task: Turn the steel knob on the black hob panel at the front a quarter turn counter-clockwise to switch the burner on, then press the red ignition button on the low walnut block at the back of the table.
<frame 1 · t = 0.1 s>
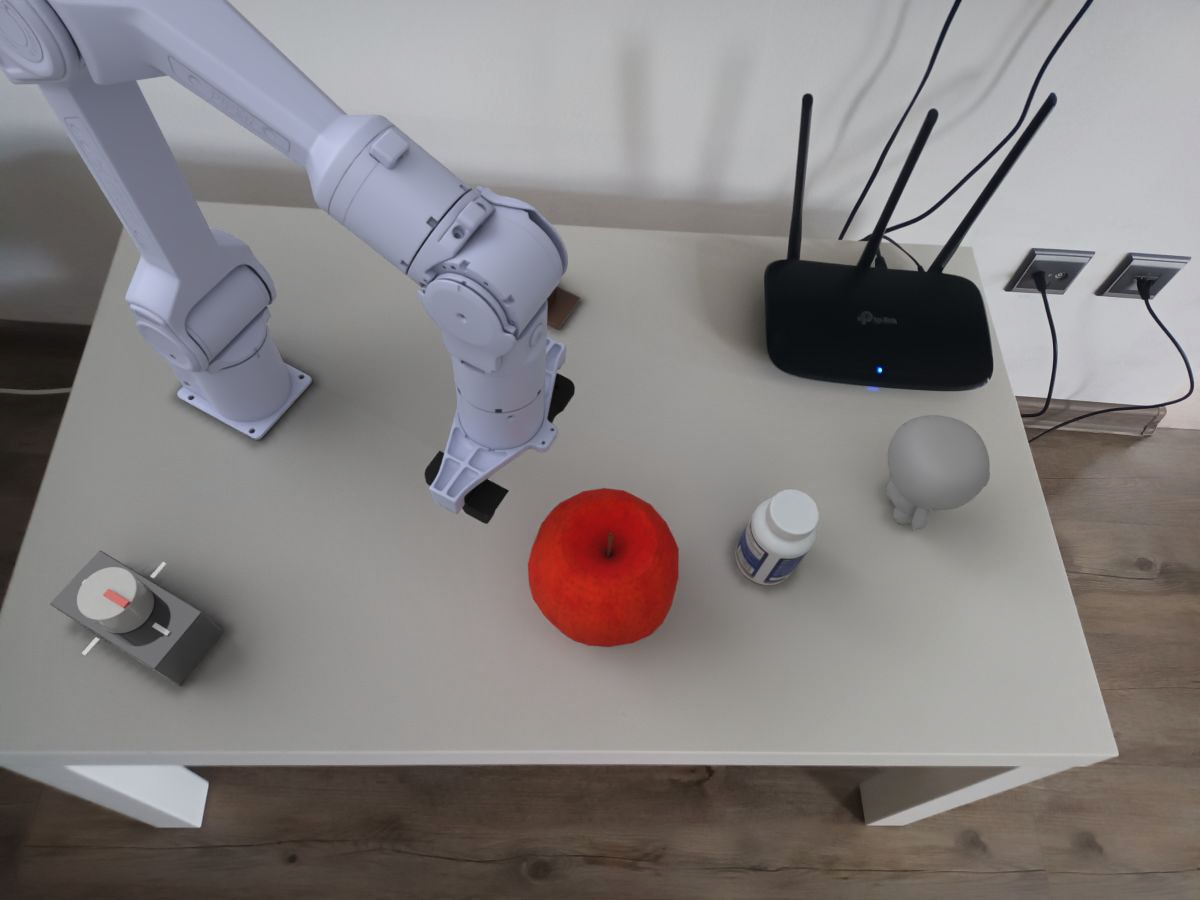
hand: (504, 476, 63), 10 cm above the table, tool pointing down, fingers open, 7 cm apart
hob: (152, 628, 65), on the table
figurine: (894, 508, 76), on the table
ignite button: (527, 276, 83), point 3 cm above the table, slide at 0.1 cm
pill bottle: (763, 558, 73), on the table
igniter: (527, 296, 85), on the table
hob knob: (115, 599, 59), point 7 cm above the table, hinge at 0.0°
apple: (596, 603, 69), on the table
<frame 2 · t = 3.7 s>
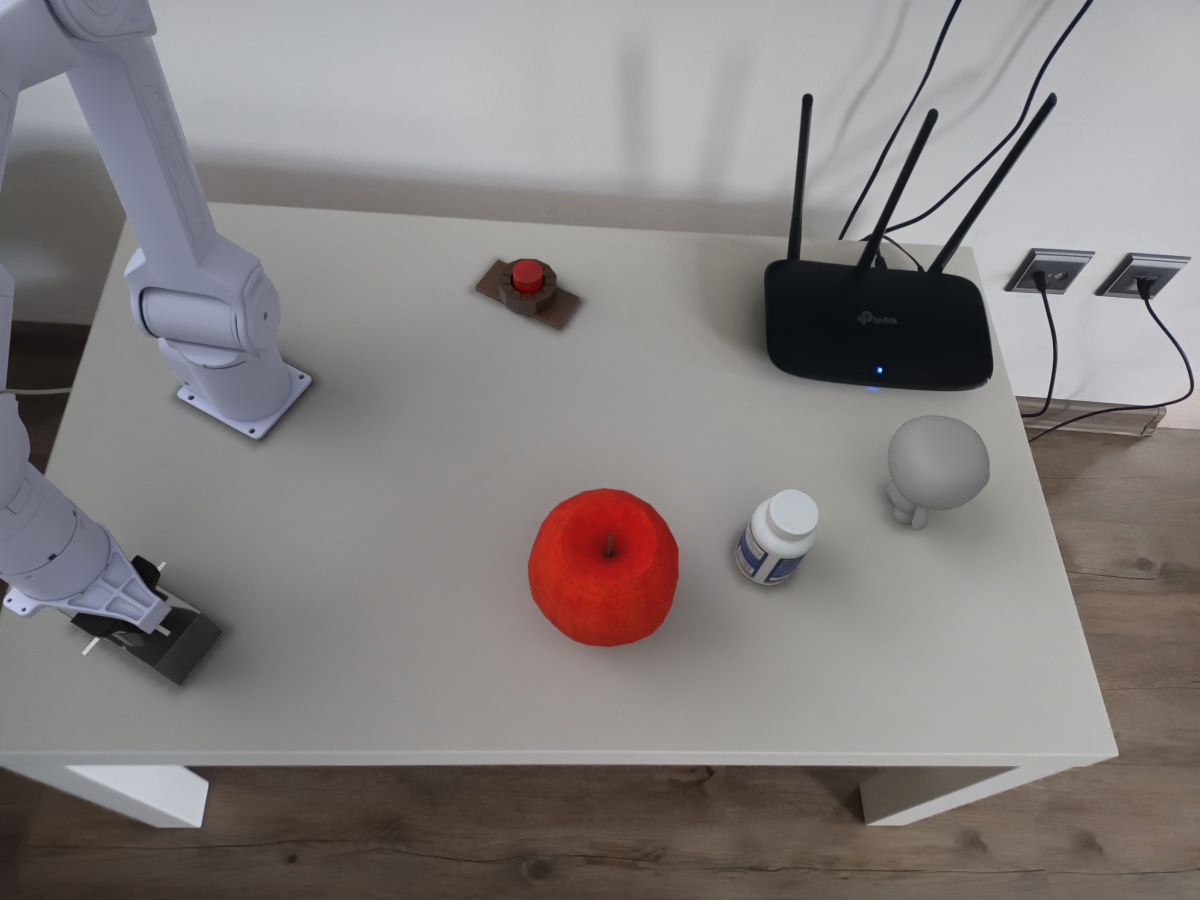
hand: (123, 605, 60), 6 cm above the table, tool pointing down, fingers closed on hob knob, 4 cm apart
hob knob: (115, 599, 59), point 7 cm above the table, hinge at -0.1°, touching gripper
everything else where it was.
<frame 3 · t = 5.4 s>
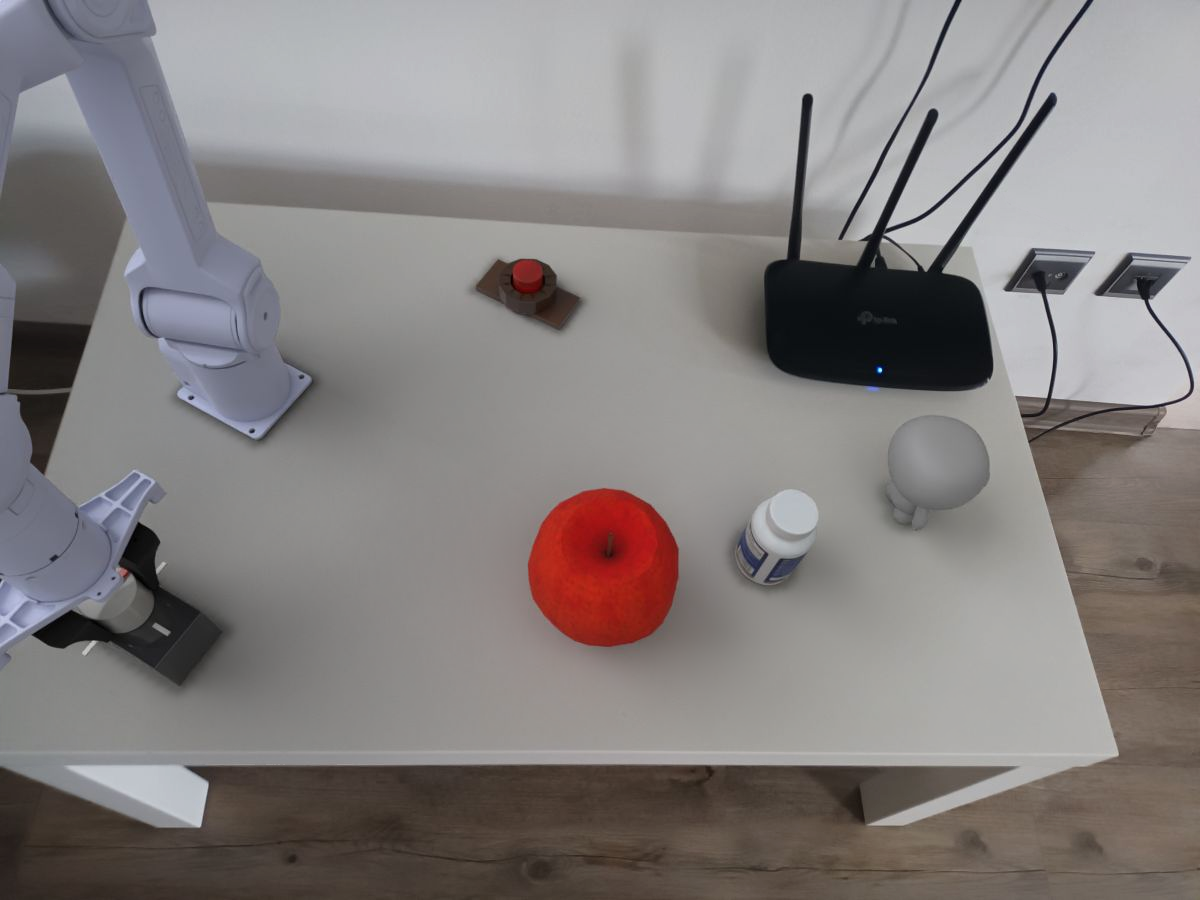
hand: (124, 606, 61), 5 cm above the table, tool pointing down, fingers closed on hob knob, 4 cm apart
hob knob: (115, 599, 59), point 7 cm above the table, hinge at 89.9°, touching gripper
everything else where it was.
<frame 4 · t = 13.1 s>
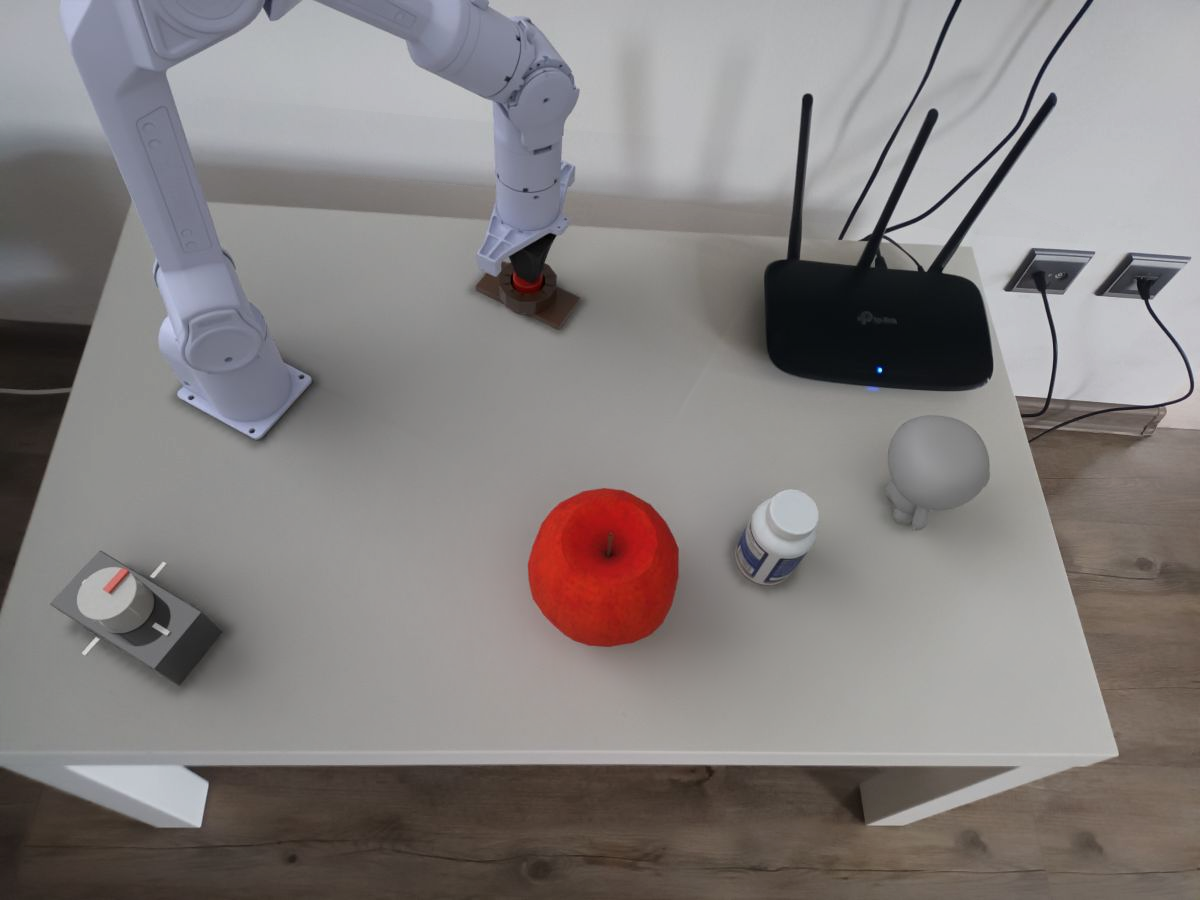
hand: (528, 276, 83), 3 cm above the table, tool pointing down, fingers closed, pressing on ignite button
ignite button: (527, 281, 83), point 2 cm above the table, slide at -0.6 cm, touching gripper
hob knob: (115, 599, 59), point 7 cm above the table, hinge at 90.1°
everything else where it was.
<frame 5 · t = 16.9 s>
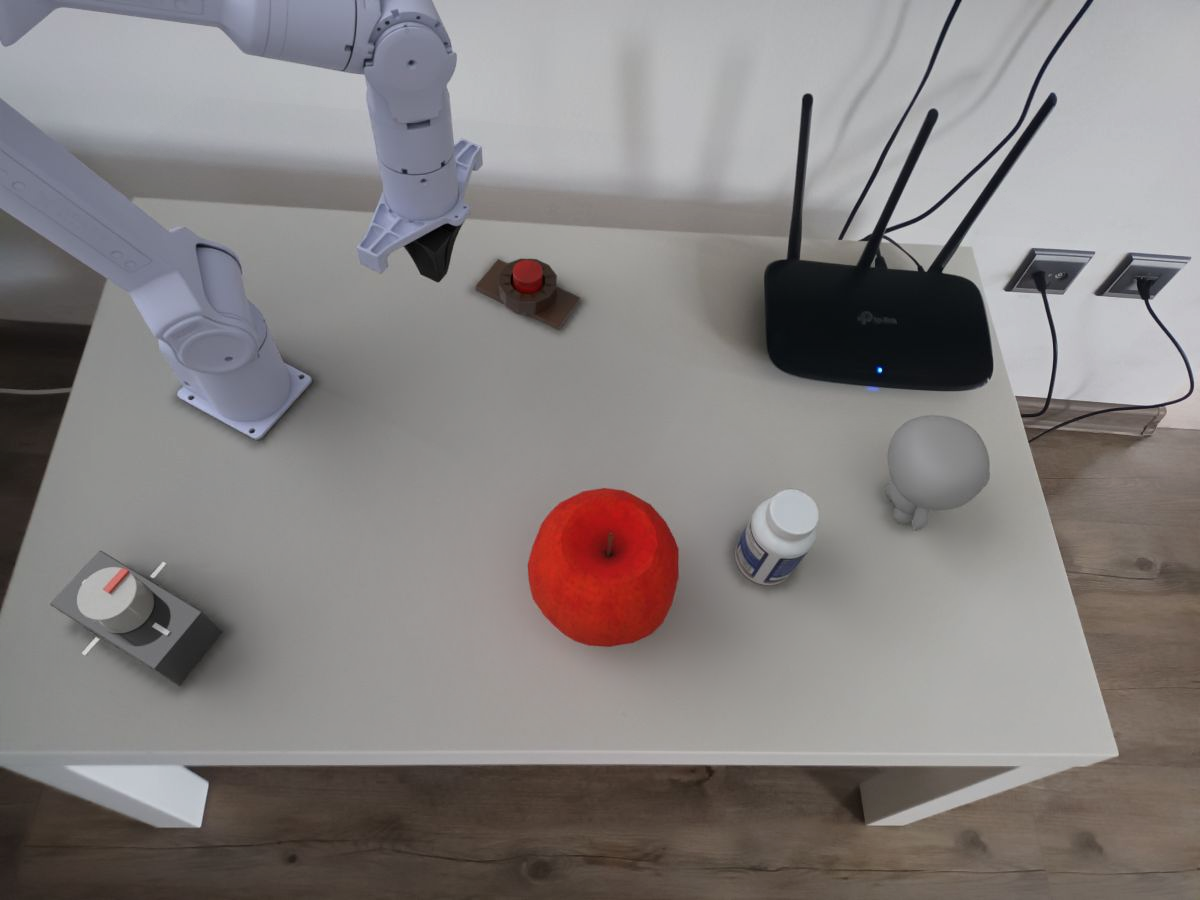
hand: (433, 273, 72), 10 cm above the table, tool pointing down, fingers closed
ignite button: (527, 276, 83), point 3 cm above the table, slide at 0.1 cm
everything else where it was.
at the end: hob knob at +90° (first picture: +0°); ignite button pushed in 1.2 cm at the most during the clip, back to where it started at the end; ignite button slide at 0.1 cm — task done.
